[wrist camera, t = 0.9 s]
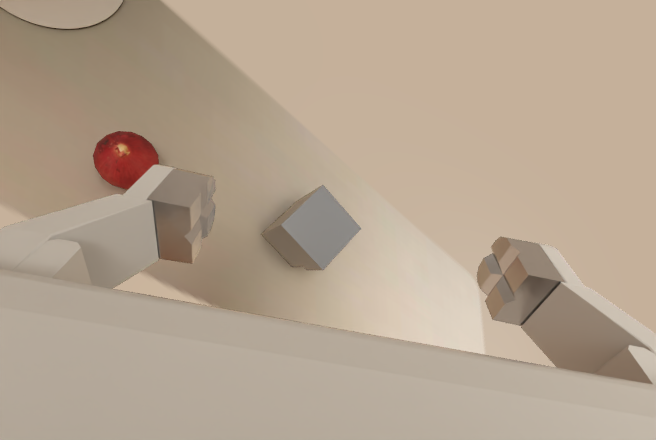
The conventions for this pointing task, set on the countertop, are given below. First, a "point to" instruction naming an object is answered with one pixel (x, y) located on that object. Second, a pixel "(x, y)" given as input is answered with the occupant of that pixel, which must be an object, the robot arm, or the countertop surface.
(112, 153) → the pomegranate
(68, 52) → the countertop surface
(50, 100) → the countertop surface
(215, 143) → the countertop surface
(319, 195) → the grey block
